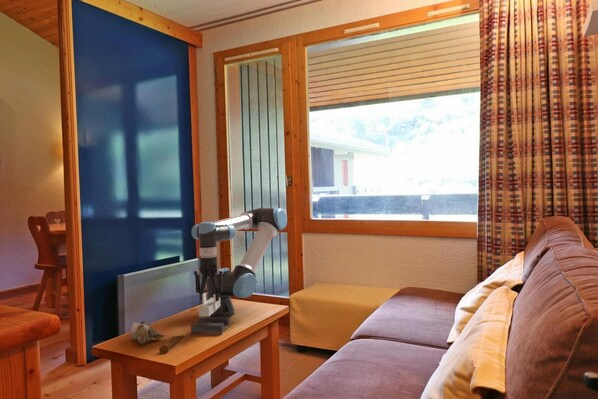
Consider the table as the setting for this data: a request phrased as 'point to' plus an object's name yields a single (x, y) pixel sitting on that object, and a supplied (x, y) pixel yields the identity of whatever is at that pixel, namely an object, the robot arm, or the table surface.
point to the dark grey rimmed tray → (211, 325)
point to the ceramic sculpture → (144, 332)
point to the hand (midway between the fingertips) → (210, 308)
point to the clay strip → (208, 307)
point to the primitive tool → (170, 344)
